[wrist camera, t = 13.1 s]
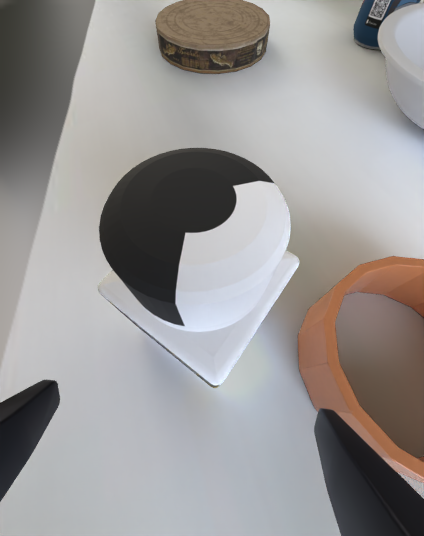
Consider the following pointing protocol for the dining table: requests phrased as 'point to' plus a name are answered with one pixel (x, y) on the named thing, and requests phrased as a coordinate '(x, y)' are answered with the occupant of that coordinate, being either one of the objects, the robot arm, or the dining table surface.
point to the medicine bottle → (197, 254)
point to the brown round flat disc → (212, 35)
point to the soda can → (375, 19)
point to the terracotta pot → (326, 352)
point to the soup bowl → (405, 59)
